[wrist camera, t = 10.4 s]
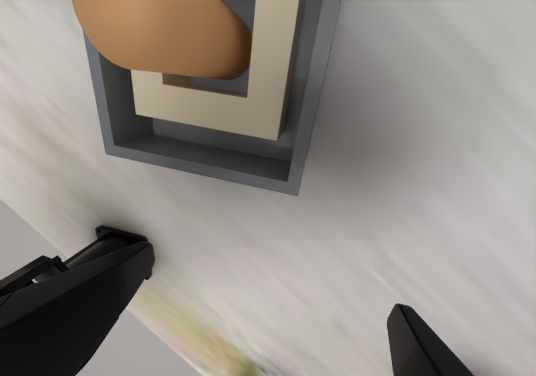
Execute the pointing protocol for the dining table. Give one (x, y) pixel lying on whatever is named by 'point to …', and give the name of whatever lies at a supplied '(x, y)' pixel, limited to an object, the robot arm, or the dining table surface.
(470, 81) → the dining table surface
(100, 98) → the socket tray
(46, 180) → the dining table surface
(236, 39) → the peg
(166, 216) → the dining table surface
